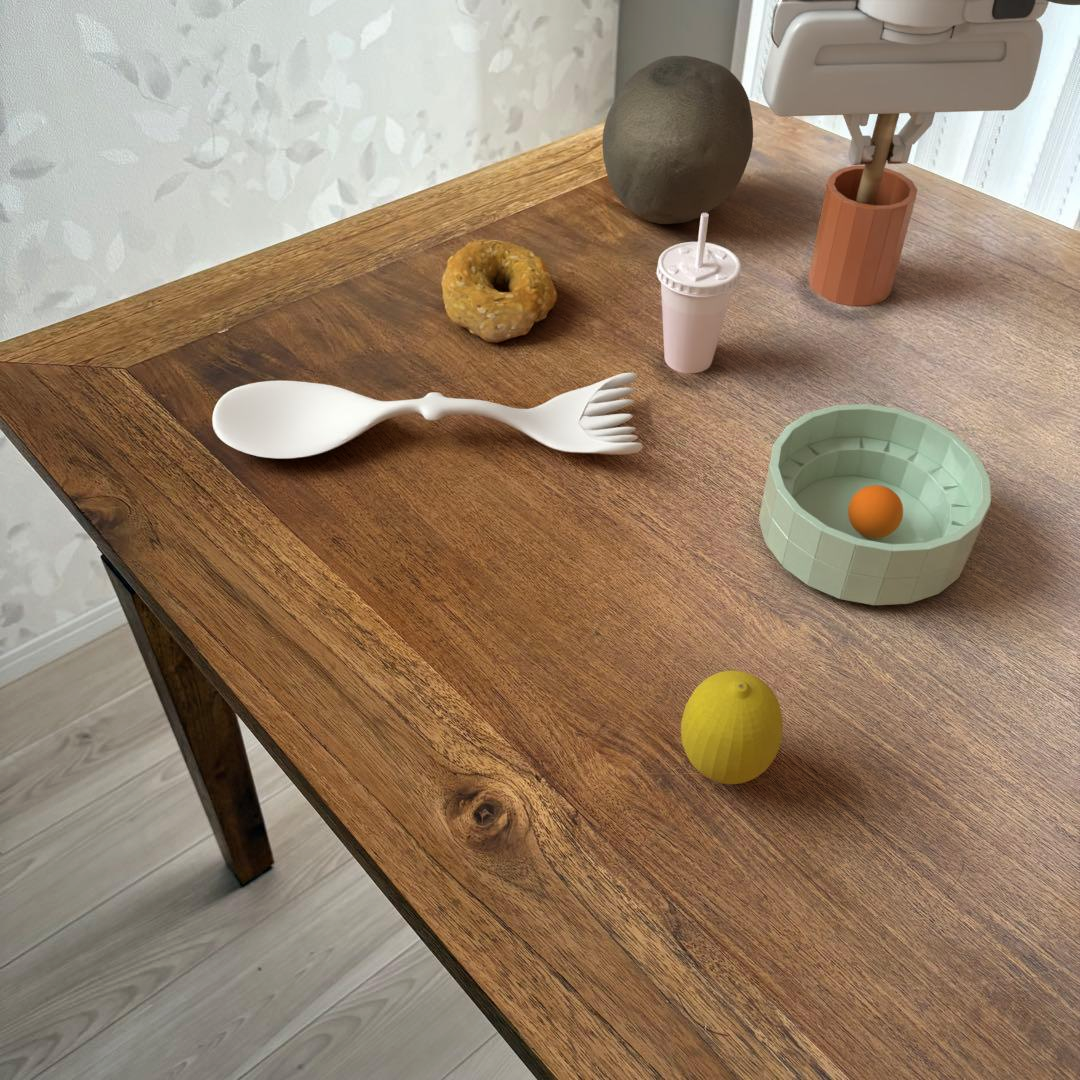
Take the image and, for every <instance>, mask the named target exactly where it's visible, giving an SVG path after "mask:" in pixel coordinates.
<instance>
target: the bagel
mask: <svg viewBox="0 0 1080 1080" xmlns="http://www.w3.org/2000/svg"><path fill="white" fill-rule="evenodd" d="M446 261H447V262H446V263H447V264H446V268H445V271H444V273H443V275H442V277H441V284H440V285H441V288H442V295H441V298H443V299H442V300H443V304H444V308H445V311H446V314H447V317H448V318H449V319H450V321H451V323H453V324H454V325H456V326H458V327H462V328H464V329H466V330H468V331H469V333H470V334H473V335H475V336H476V337H479V338H481V339H482V340H483V341H484V342H488V343H497V344H498V343H500V342H504V341H507V340H510V339H513V338H517V337H519V336H520V337H521V336H525V335H527V334H528V333H529V332H530V331H531V328H532V327H533V326H534V324H535V323H538V322H540V321H542V320H545V319H546V318H547V315H548V313H549V312H550V310H551V309H553V308H554V306H555V304H556V302H557V299H558V293H557V290H556V288H555V284H554V282H553V281H552V276H551V272H550V269H549V268H548V266H547V264H546V262H545V261H544V259H543V258H542V257H540V256H539V255H538V254H537V253H536V252H535V251H533V250H532V249H529V248H527V247H525V246H521V245H518V244H516V243H513V242H511V241H505V240H500V239H495V240H494V239H486V238H485V239H478V240H475V241H470V242H468V243H467V244H466V245H465V246H463V247H462V248H461V249H459V250H457V251H456V252H455V254H453V255H451V256H450V257H449V258H448V260H446Z"/></svg>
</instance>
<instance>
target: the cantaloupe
mask: <svg viewBox="0 0 1080 1080" xmlns="http://www.w3.org/2000/svg"><path fill="white" fill-rule="evenodd" d="M749 99H750V98H749V95H748V93H747V91H746V90H745V87H744V85H743V84H742V83H741V81H740V80H739V79H738V78H737V77H736V75H735V74H734V73H732V71H731V70H729V69H728V68H727V67H725V66H723V65H721V64H719V63H716V62H713V61H711V60H707V59H703V58H700V57H696V56H690V55H670V56H664V57H661V58H658V59H657V60H653V61H652V62H650V63H648V64H646V65H645V66H644V67H643V68H640V69H639V70H637V71H636V72H635V73H633V74H632V76H631V77H629V79H628V80H627V81H626V82H625V83H624V84H623V85H622V87H621V89H620V90H619V92H618V93H617V95H616V97H615V100H614V102H613V103H612V105H611V106H610V109H609V110H608V112H607V115H606V118H605V122H604V126H603V132H602V157H603V163H604V167H605V171H606V175H607V178H608V181H609V184H610V186H611V188H612V191H613V192H614V194H615V196H616V197H617V198H618V201H619V202H621V203H622V204H623V205H624V206H625V207H626V208H627V209H628V210H629V211H630V212H632V213H633V214H634V215H636V216H637V217H639V218H640V219H642V220H644V221H647V222H651V223H653V224H658V225H671V224H673V225H674V224H685V223H689V222H692V221H694V220H696V219H700V218H701V214H702V213H707V214H709V212H710V211H712V210H713V209H715V208H717V207H718V206H719V205H721V204H722V203H724V202H725V201H726V200H728V198H730V196H731V195H732V194H733V192H734V191H735V190H736V188H737V186H738V185H739V184H740V182H741V180H742V178H743V175H744V173H745V170H746V168H747V166H748V162H749V160H750V157H751V153H752V149H753V144H754V143H753V142H754V120H753V113H752V108H751V104H750V100H749Z"/></svg>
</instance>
